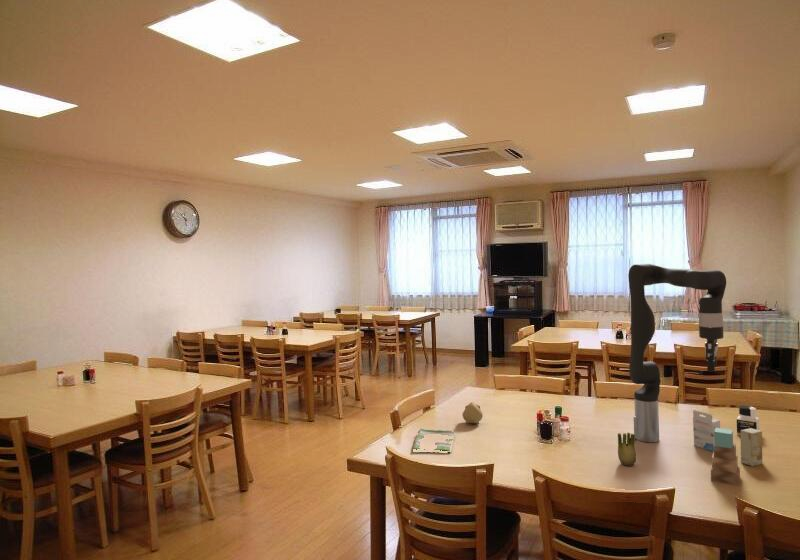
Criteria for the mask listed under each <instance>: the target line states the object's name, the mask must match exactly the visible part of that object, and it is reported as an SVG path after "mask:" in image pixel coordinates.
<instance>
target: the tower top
mask: <svg viewBox="0 0 800 560" xmlns="http://www.w3.org/2000/svg"><path fill="white" fill-rule="evenodd" d="M713 452H714V458H720V459H726V460H732V461H735V458H736V455H737V443H733V447H732V449H731V448H724V447H718V446H715V444H714V451H713Z"/></svg>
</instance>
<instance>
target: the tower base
mask: <svg viewBox="0 0 800 560" xmlns="http://www.w3.org/2000/svg"><path fill="white" fill-rule="evenodd" d="M740 472H741V467H740V466H739V465H738V468H737V473H732V472H727V471H721V470H716V469H712V466H711V468H710V481H711V482H717V483H723V484H728V485H732V486H733V485H734V486H737V487H738V486H740V480H741V473H740Z"/></svg>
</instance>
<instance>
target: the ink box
mask: <svg viewBox="0 0 800 560" xmlns="http://www.w3.org/2000/svg"><path fill="white" fill-rule="evenodd" d="M692 412H693V413H692V414H693V415H692V416H693V417H692V425H693V427H692V428H693V446H695V447H697V446H698V448H702V449H704V450H708V451H711V452H714V444H715V441H714V431H715V429H716V428H721V420H719V419H714V418H713V415H712V414H711V413H707V412H703V411H699V410H695V409H693V410H692Z"/></svg>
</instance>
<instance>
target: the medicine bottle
mask: <svg viewBox="0 0 800 560" xmlns="http://www.w3.org/2000/svg"><path fill="white" fill-rule="evenodd" d="M738 411H739V412H738V413H739V415H738V416H737V417H736V435H737V436H741V430H744V429H749V428H752V429H756V430H760V417H757V408H756V407H753V406H750V405H740V406H739V408H738Z"/></svg>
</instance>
